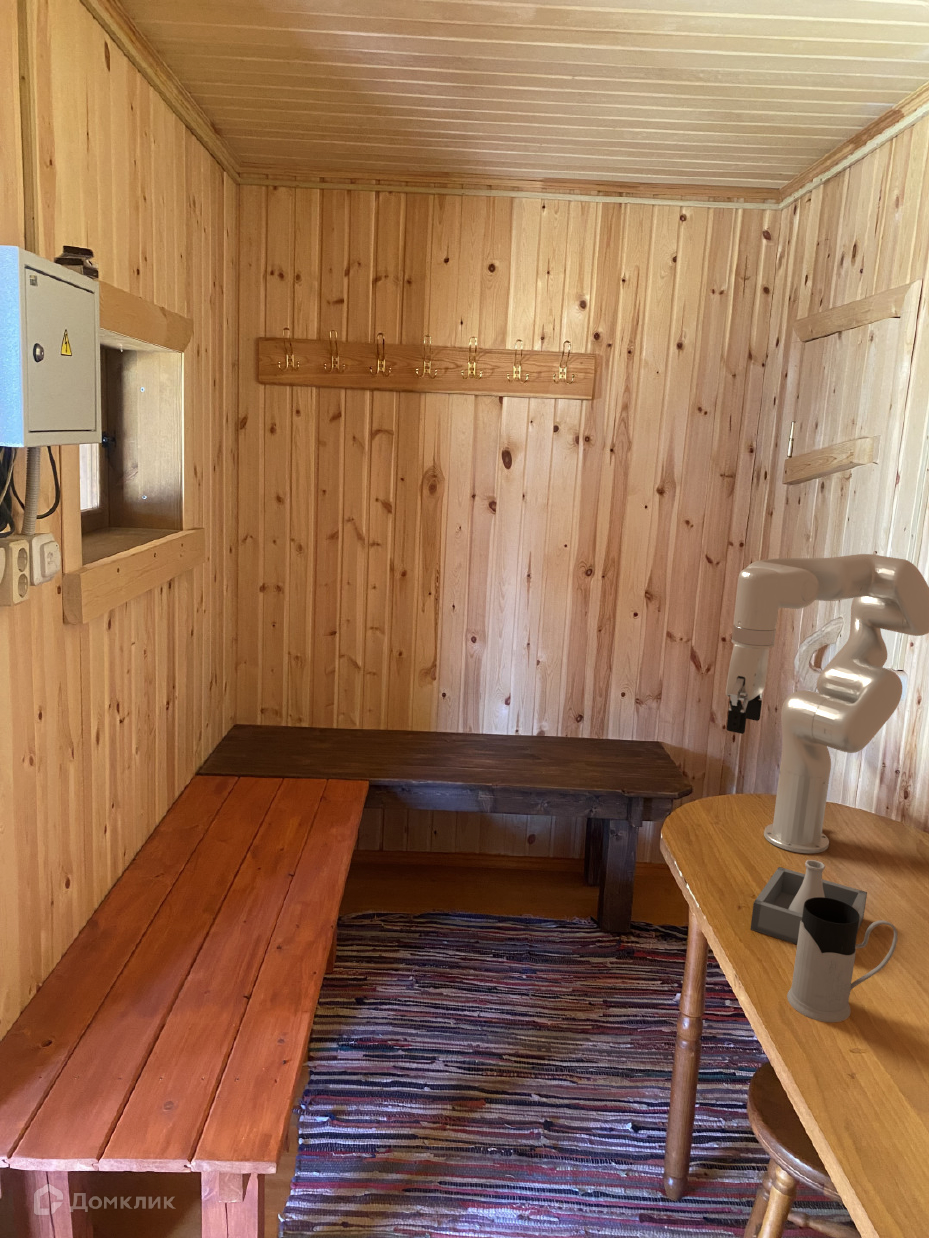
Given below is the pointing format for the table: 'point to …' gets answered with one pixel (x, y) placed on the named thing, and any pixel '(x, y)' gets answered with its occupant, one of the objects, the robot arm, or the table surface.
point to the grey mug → (828, 959)
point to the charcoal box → (779, 895)
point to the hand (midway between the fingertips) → (743, 725)
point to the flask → (809, 885)
